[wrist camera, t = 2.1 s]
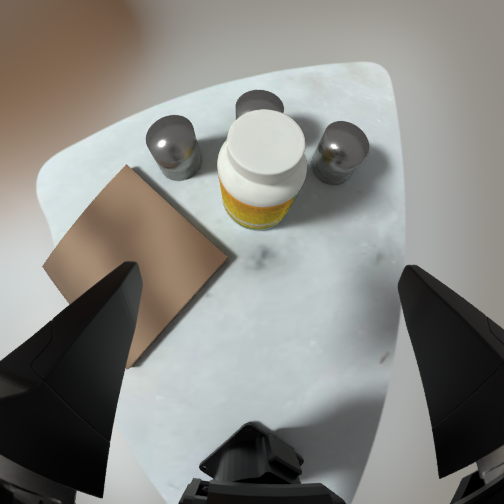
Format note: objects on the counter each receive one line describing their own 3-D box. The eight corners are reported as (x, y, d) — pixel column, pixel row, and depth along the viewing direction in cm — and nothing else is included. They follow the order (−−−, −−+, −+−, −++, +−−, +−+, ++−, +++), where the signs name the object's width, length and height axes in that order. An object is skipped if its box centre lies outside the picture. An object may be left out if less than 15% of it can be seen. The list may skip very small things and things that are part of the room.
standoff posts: (351, 186, 24) (372, 164, 19) (158, 181, 23) (142, 157, 19) (344, 128, 25) (359, 100, 20) (167, 122, 24) (155, 93, 20)
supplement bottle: (224, 169, 23) (216, 97, 14) (288, 171, 24) (314, 102, 14) (221, 232, 23) (209, 185, 13) (290, 233, 23) (322, 189, 13)
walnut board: (130, 367, 21) (127, 369, 20) (47, 267, 21) (42, 266, 21) (228, 258, 22) (227, 257, 21) (129, 168, 23) (126, 164, 22)
